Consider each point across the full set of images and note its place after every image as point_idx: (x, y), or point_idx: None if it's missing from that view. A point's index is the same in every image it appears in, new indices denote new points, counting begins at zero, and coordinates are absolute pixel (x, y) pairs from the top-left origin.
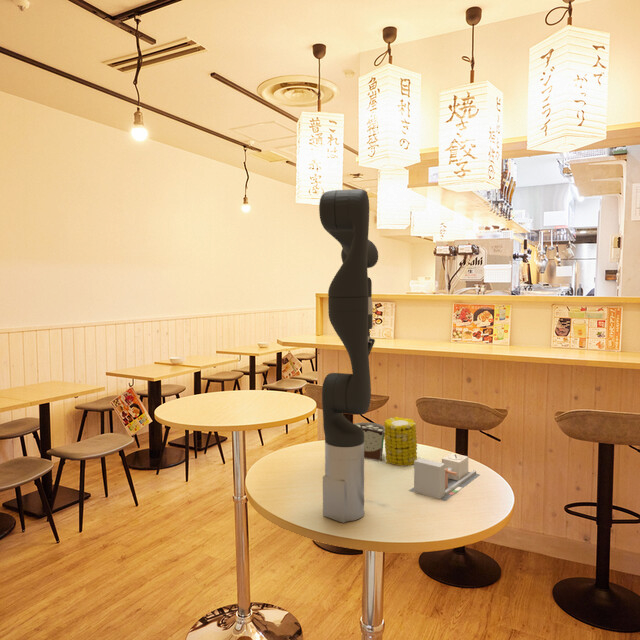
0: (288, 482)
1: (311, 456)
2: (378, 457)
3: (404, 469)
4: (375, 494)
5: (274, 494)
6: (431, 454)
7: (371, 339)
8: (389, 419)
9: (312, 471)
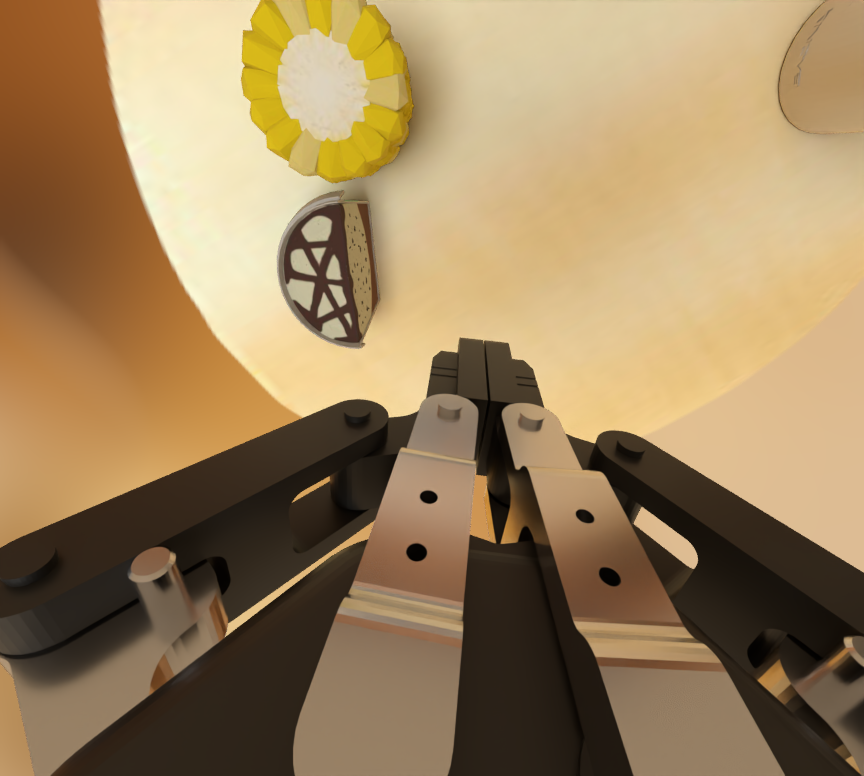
0: (657, 341)
1: None
2: (366, 210)
3: None
4: (661, 47)
5: (750, 325)
6: (179, 53)
7: (54, 631)
8: (315, 168)
9: (556, 332)
